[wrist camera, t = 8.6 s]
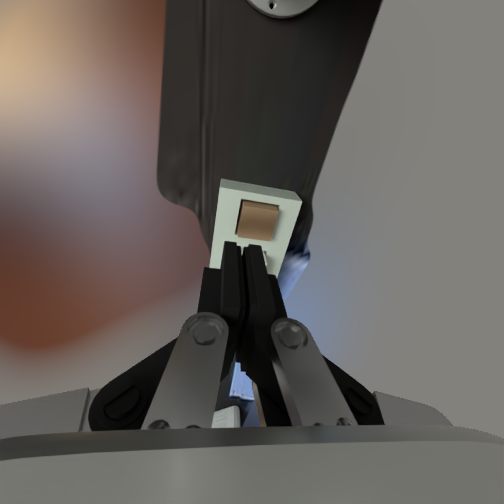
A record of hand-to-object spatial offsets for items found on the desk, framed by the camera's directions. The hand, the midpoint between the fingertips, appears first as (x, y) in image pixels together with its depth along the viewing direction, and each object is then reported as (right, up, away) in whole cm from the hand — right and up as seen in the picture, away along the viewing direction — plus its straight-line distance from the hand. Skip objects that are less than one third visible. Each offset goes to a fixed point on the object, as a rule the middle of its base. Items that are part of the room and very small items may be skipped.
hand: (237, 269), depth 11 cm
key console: (-1, +1, +31) cm, 31 cm away
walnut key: (+1, +7, +25) cm, 26 cm away
